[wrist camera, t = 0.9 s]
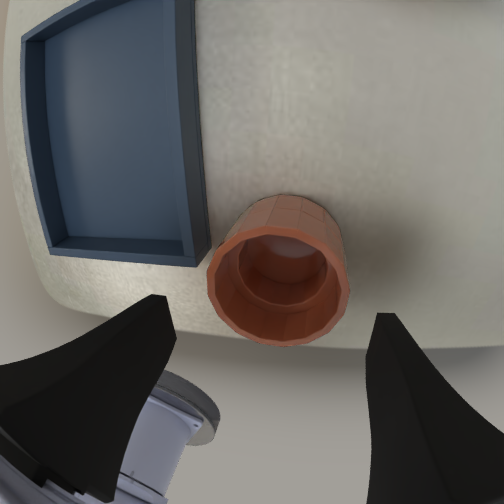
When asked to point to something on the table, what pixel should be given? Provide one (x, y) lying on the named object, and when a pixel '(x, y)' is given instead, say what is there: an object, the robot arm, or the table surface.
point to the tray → (116, 132)
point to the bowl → (280, 273)
